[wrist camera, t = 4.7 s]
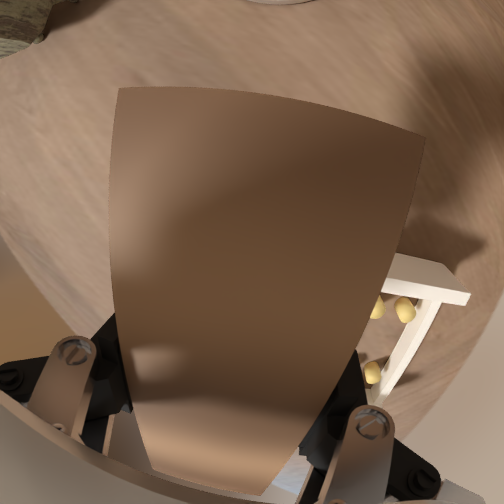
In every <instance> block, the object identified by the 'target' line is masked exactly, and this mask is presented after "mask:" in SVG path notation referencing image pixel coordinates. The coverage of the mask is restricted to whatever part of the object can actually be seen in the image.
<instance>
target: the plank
mask: <svg viewBox="0 0 504 504" xmlns="http://www.w3.org/2000/svg"><path fill="white" fill-rule="evenodd" d="M425 139H426V138H425V137H423V136H420V135H418V134H415V133H413V132H410V131H407V130H405V129H402V128H399V127H396V126H393V125H390V124H387V123H384V122H381V121H378V120H375V119H372V118H369V117H365V116H362V115H359V114H355V113H352V112H348V111H344V110H340V109H336V108H332V107H328V106H324V105H320V104H315V103H311V102H306V101H301V100H296V99H291V98H285V97H279V96H273V95H267V94H260V93H252V92H244V91H235V90H225V89H213V88H197V87H129V88H119V91H118V97H117V103H116V110H115V118H114V126H113V135H112V146H111V158H110V175H109V250H110V267H111V280H112V291H113V300H114V309H115V316H116V324H117V330H118V337H119V343H120V349H121V354H122V360H123V365H124V370H125V374H126V379H127V383H128V388H129V392H130V396H131V400H132V404H133V408H134V412H135V415H136V419H137V422H138V426H139V429H140V433H141V435H142V439H143V442H144V445H145V448H146V451H147V454H148V457H149V460H150V463H151V466H152V468H153V470H156V471H159V472H161V473H165V474H167V475H171V476H174V477H177V478H180V479H183V480H187V481H191V482H194V483H198V484H201V485H206V486H210V487H214V488H219V489H223V490H228V491H233V492H238V493H244V494H250V495H257V496H260V495H261V494H262V493H263V492H264V491H265V489H266V488H267V487H268V486H269V485H270V483H271V482H272V481H273V480H274V478H275V477H276V476H277V475H278V473H279V472H280V471H281V469H282V468H283V467H284V465H285V464H286V463H287V461H288V460H289V458H290V457H291V456H292V454H293V453H294V451H295V450H296V449H297V447H298V446H299V444H300V443H301V441H302V440H303V438H304V437H305V435H306V434H307V432H308V431H309V429H310V428H311V426H312V425H313V423H314V421H315V420H316V418H317V417H318V415H319V413H320V412H321V410H322V409H323V407H324V405H325V404H326V402H327V400H328V398H329V397H330V395H331V393H332V392H333V390H334V388H335V386H336V384H337V383H338V381H339V379H340V377H341V375H342V373H343V372H344V370H345V368H346V366H347V364H348V362H349V360H350V358H351V356H352V354H353V352H354V350H355V348H356V346H357V344H358V342H359V340H360V338H361V336H362V334H363V332H364V329H365V327H366V325H367V323H368V321H369V318H370V316H371V314H372V312H373V309H374V307H375V305H376V302H377V300H378V297H379V295H380V292H381V290H382V287H383V285H384V282H385V280H386V277H387V275H388V272H389V269H390V267H391V264H392V261H393V258H394V255H395V252H396V250H397V247H398V244H399V241H400V238H401V234H402V231H403V228H404V225H405V222H406V218H407V215H408V211H409V208H410V204H411V201H412V197H413V193H414V189H415V185H416V181H417V177H418V173H419V169H420V164H421V159H422V155H423V150H424V145H425Z"/></svg>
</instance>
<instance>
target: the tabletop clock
mask: <svg viewBox="0 0 504 504" xmlns="http://www.w3.org/2000/svg"><path fill="white" fill-rule="evenodd" d="M63 1H66V0H0V59H1V58H4V57H6V56H9V55H11V54H14V53H16V52H18V51H20V50H23V49H25V48H27V47H29V46H30V45H31V43H32V42H33V43H34V44H38V43H40V42H41V41H42V40H43V34H42V33H41V32H42V31H43V29H44V28H45V25H46V22H47V19H48V16H49V14H50V11H51V8H52V6H53V5H54V4H57V3H60V2H63ZM69 1H70V2H76V1H78V0H69Z"/></svg>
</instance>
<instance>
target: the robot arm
mask: <svg viewBox="0 0 504 504" xmlns="http://www.w3.org/2000/svg"><path fill="white" fill-rule="evenodd" d="M248 1H253V2H257V3H265V4H294V3H302V2H306V1H311V0H248ZM120 410H123V411H125V412H128V413H131V412H132V410H133V404H132V400H131V396H130V392H129V388H128V383H127V379H126V374H125V370H124V365H123V360H122V354H121V349H120V343H119V337H118V330H117V324H116V316H115V313H114V314H113V315H112V316H111V317H110V318H109V319H108V320H107V321H106V323H105V324H104V325H103V326H102V327H101V328H100V329H99V330H98V331H97V333H96V334H95V335H94V336H93V337H92V338H91V339H88V338H86V337H83V336H69V337H66V338H64V339H62V340H61V341H59V342H58V343H57V344H56V345H55V347H54V348H53V350H52V352H51V354H50V356H45V357H39V358H33V359H26V360H19V361H12V362H7V363H4V364H2V365H1V366H0V504H271V503H263V502H256V501H249V500H243V499H237V498H231V497H227V496H222V495H217V494H213V493H208V492H204V491H200V490H196V489H193V488H189V487H186V486H182V485H179V484H176V483H172V482H169V481H166V480H163V479H160V478H157V477H155V476H152V475H149V474H147V473H144V472H141V471H139V470H136V469H134V468H131V467H129V466H127V465H124V464H122V463H120V462H118V461H115V460H113V459H111V458H109V457H107V456H108V449H109V443H110V437H111V431H112V426H113V420H114V414H116V413H119V412H120ZM394 433H395V425H394V422H393V419H392V417H391V416H390V415H389V414H388V412H386V411H385V410H383V409H382V408H380V407H377V406H374V405H368V402H367V396H366V391H365V386H364V381H363V376H362V372H361V367H360V362H359V358H358V353H357V351H356V349H355V350H354V352H353V354H352V356H351V358H350V360H349V362H348V364H347V366H346V368H345V370H344V372H343V373H342V375H341V377H340V379H339V381H338V383H337V384H336V386H335V388H334V390H333V392H332V393H331V395H330V397H329V398H328V400H327V402H326V404H325V405H324V407H323V409H322V410H321V412H320V413H319V415H318V417H317V418H316V420H315V421H314V423H313V425H312V426H311V428H310V429H309V431H308V432H307V434H306V435H305V437H304V438H303V440H302V441H301V443H300V444H299V446H298V447H299V455H303V456H307V461H309V462H310V463H311V467H310V469H309V472H308V474H307V477H306V479H305V481H304V484H303V486H302V488H301V491H300V493H299V495H298V498H297V500H296V502H295V504H485V501H484V499H483V498H482V497H481V496H479V495H477V494H475V493H473V492H471V491H469V490H467V489H465V488H463V487H461V486H459V485H456V484H455V483H453V482H451V481H449V480H447V479H444V480H443V481H441V478H440V474H439V472H438V471H437V469H436V468H435V467H434V466H433V465H431V464H430V463H428V462H427V461H425V460H424V459H423V458H421V457H420V456H419V455H417V454H416V453H414V452H413V451H412V450H410V449H409V448H408V447H406V446H405V445H404V444H402V443H401V442H400V441H398V440H397V439H396V438H394Z"/></svg>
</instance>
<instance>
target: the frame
mask: <svg viewBox="0 0 504 504" xmlns="http://www.w3.org/2000/svg"><path fill="white" fill-rule="evenodd" d="M381 292H384V293H390V294H395V295H401V296H407V297H413V298H419V299H418V302H417V304H416V306H415V308H414V306H413V305H412V303H411V301H410V300H409V298H407V297H401V298H399V299H398V300H397V301H396V302H395V305H394V307H395V310H396V312H397V314H398V316H399V318H400V320H401V321H402V322H403V323H407V325H406V327H405V329H404V331H403V333H402V335H401V337H400V339H399V341H398V343H397V345H396V346H395V348H394V350H393V352H392V354H391V355H390V357H389V359H388V361H387V363H386V364H385V366H384V368H383V369H382V371H381V373H380V369H379V365H378V363H377V362H369V363H367V364H366V365H365V366H364V371H365V376H366V381H367V383H369V384H373V386H372V387H371V389H365V391H366V396H367V402H368V405H374V406H377V407H380V408H382V409H383V407H382V403H383V401H384V400H385V398H386V397H387V396H388V394H389V393H390V391H391V390H392V388H393V387H394V386H395V384H396V383H397V381H398V380H399V378H400V377H401V375H402V373H403V372H404V370H405V369H406V367H407V365H408V364H409V362H410V361H411V359H412V357H413V356H414V354H415V352H416V351H417V349H418V347H419V345H420V344H421V342H422V340H423V338H424V336H425V334H426V333H427V331H428V329H429V327H430V325H431V323H432V321H433V319H434V317H435V315H436V313H437V311H438V309H439V307H440V305H441V303H442V302H444V303H450V304H456V305H463V306H465V305H466V303H467V301H468V299H469V297H470V295H471V293H470V292H469V291H468V290H467V289H466V287H465V286H464V285H463V284H462V283H461V282H460V281H459V280H458V279H457V278H456V277H455V276H454V275H453V274H452V273H451V271H450V270H449V269H448V268H447V267H446V266H445V265H444V264H442V263H438V262H434V261H430V260H425V259H421V258H417V257H412V256H408V255H404V254H399V253H395V255H394V258H393V261H392V264H391V267H390V269H389V272H388V275H387V277H386V280H385V282H384V285H383V287H382V290H381ZM385 309H386V308H385V305H384V303H383V301H382V299H381V297H380V295H379V297H378V300H377V302H376V305H375V307H374V309H373V312H372V314H371V316H370V318H373V319H376V318H379V317H381V316H382V315H383V314H384V313H385Z"/></svg>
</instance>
